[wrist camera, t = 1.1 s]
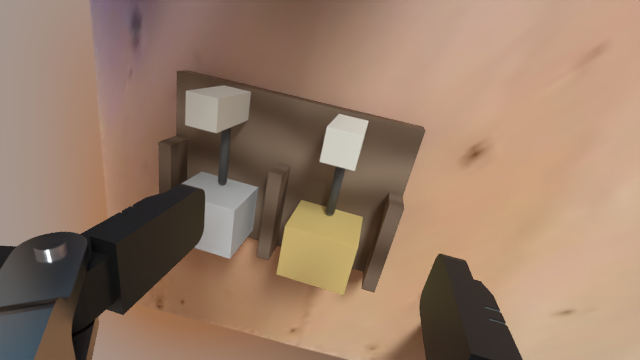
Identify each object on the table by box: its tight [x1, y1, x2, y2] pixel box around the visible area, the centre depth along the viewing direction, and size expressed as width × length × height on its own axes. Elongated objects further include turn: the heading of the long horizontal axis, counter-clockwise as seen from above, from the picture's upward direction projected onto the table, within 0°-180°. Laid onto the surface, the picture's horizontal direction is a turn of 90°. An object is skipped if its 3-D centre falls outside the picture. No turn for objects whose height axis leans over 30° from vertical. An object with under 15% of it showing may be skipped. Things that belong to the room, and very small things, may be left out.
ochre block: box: [277, 114, 369, 295], centre depth 25 cm, size 14×6×6 cm, turn 168°
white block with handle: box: [181, 85, 258, 259], centre depth 26 cm, size 14×6×6 cm, turn 168°
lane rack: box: [159, 71, 425, 292], centre depth 28 cm, size 15×22×4 cm
